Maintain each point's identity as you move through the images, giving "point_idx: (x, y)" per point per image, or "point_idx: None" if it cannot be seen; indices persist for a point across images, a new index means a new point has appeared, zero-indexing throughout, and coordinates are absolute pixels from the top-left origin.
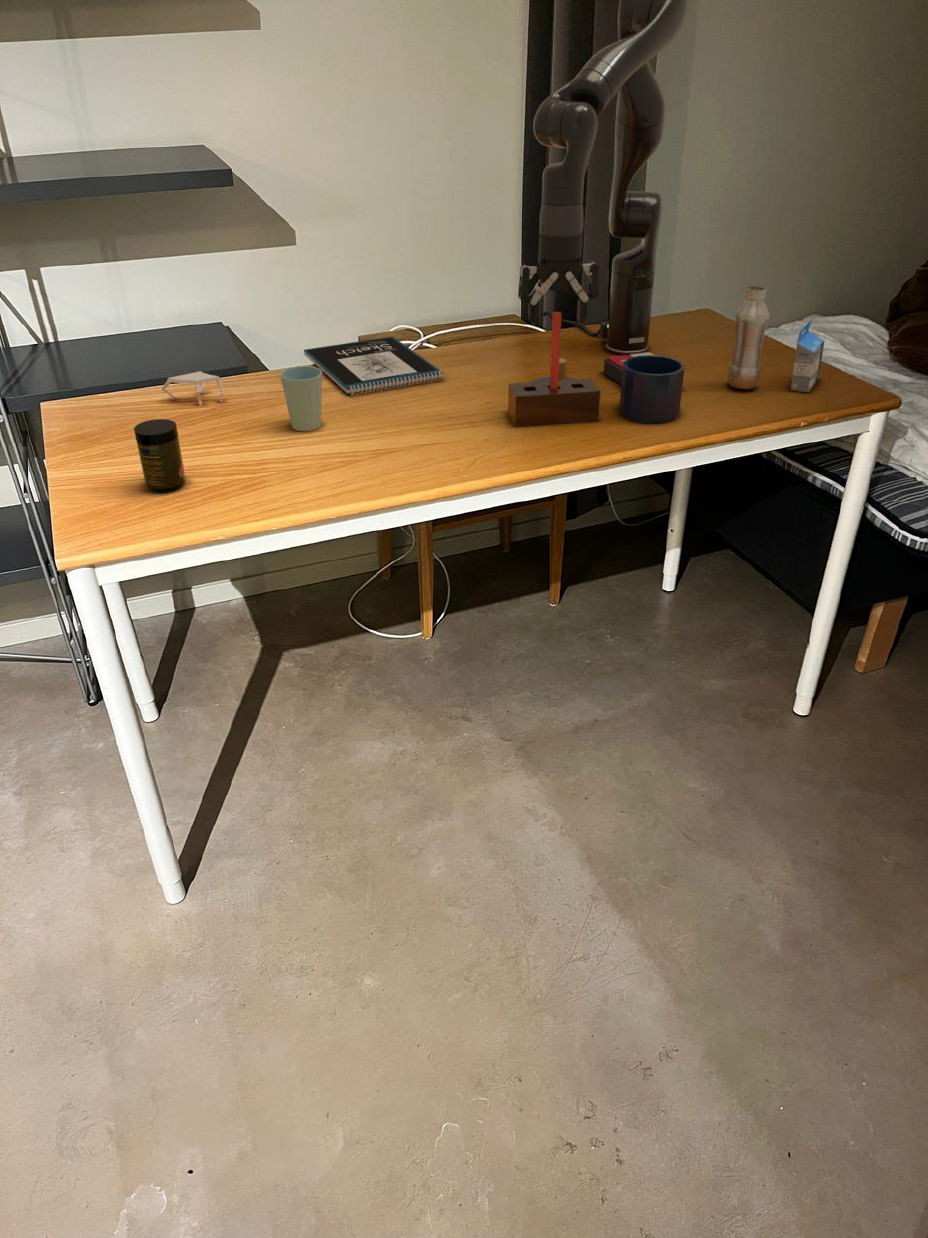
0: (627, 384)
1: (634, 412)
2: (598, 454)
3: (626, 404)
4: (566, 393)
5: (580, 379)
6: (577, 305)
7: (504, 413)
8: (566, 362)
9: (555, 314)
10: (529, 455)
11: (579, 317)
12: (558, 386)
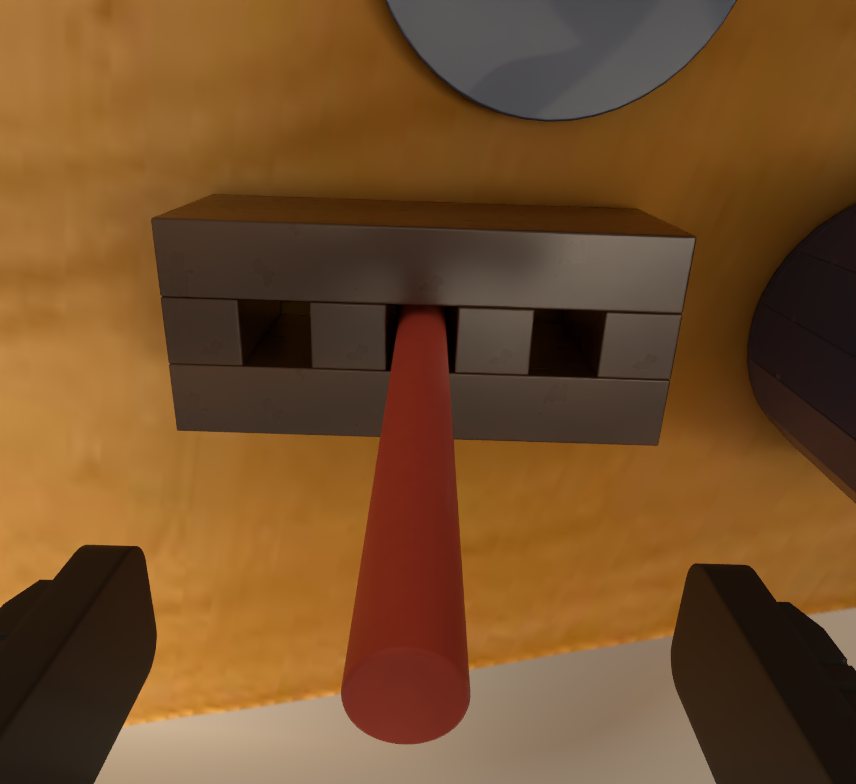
0: (834, 440)
1: (783, 430)
2: (491, 651)
3: (778, 398)
4: (465, 438)
5: (626, 242)
6: (781, 708)
7: (194, 189)
8: None
9: (369, 732)
10: (248, 617)
11: (693, 706)
12: (457, 312)
